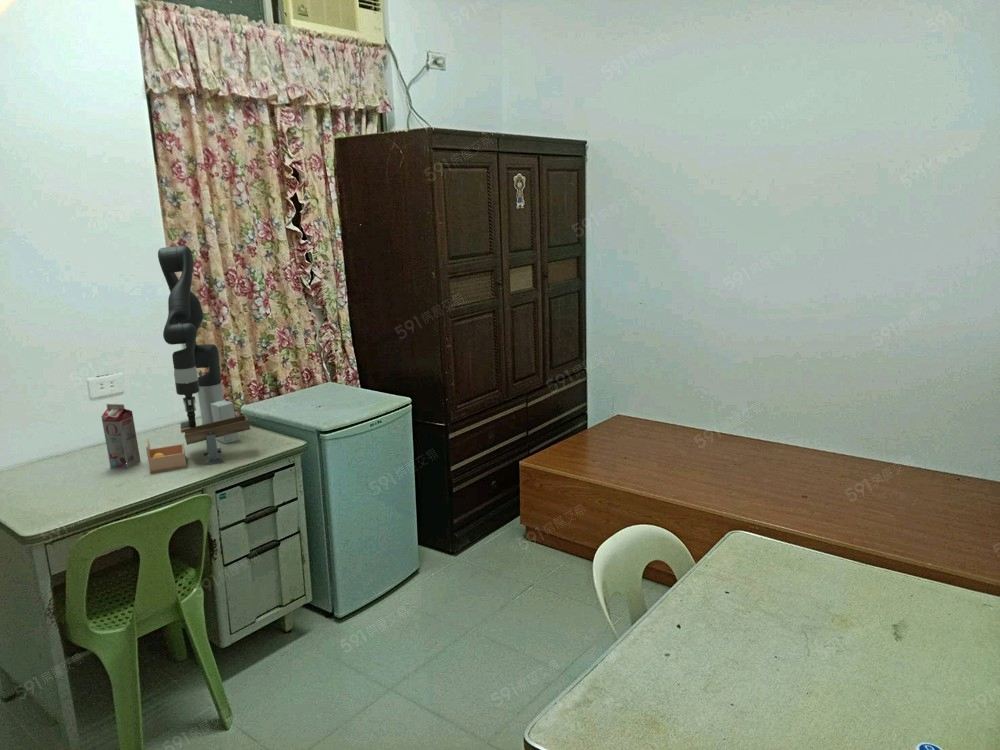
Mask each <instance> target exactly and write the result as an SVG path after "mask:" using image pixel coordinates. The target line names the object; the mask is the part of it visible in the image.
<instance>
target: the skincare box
mask: <svg viewBox="0 0 1000 750" xmlns="http://www.w3.org/2000/svg"><path fill="white" fill-rule="evenodd" d="M210 405H211V410H212V416H213V421H214V422H217V421H221V420H225V419H229V418H234V417H236V413H235V407H234V402H230V401H228V400H225V399H224V400H222V401H218V402H214V403H211V404H210ZM216 441H219V442H221V443H223V444H229V443H232V442H233V443H234V442H238V441H240V436H239V432H237V433H233V434H229V435H225V436H221V437H217V438H216Z"/></svg>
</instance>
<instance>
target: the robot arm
mask: <svg viewBox="0 0 1000 750" xmlns="http://www.w3.org/2000/svg"><path fill="white" fill-rule="evenodd" d="M157 257H158V262H159V266H160V268H161V271H162V273H163V277H164V278H165V281H166V283H167V287H168V290H169V295H168V301H167V305H168V306H167V307H168V313H167V319H166V321H165V326H164V328H163V331H162V333H163V334H162V336H163V339H164V342H166V344H168V345H171V346H172V345H185V347H184V348H183V349H179V350H176V351H174V352H173V353H172V355H171V356H172V358H171V359H172V362H173V363H172V365H173V377H174V382H175V392H176V394H177V395H179V396H184V397H182V402H183V405H184V410H185V412H186V413H187V414H186V416H187V418H188V421H189V427H196V426H197V422H196V411H197V409H196V403H197V402H196V396H193V395H194V394H197V396H198V403H199V408H200V409H199V410H200V416H201V422H202V423H201V425H204V424H208V423H213V422H214V421H213V416H212V410H211V405H210V404H211V403H214V402H218V401H222V400H225V399H224V393H223V385H222V384H223V383H222V378H221V377H222V376H221V375H222V373H221V366H220V364H221V363H220V352H219V348H218V347H217V345H216V344H213V343H212V344H211V343H210V344H197V341H196V340H197V335H198V331H199V329H200V327H201V324H202V322H203V319H204V312H203V308H202V306H201V305H202V304H201V301H200V299H199V298H198V296H197V295H195V294H194V293H193V291H192V290H191V288H192V280H193V272H194V257H193V253H192V250H191V249H190V247H189V246H187V245H177V246H175V245H174V246H166V247H161V248H159V249H158V251H157ZM180 272H181V275H180V277H179V278H178V275H177V274H176V273H180ZM206 368H208V369H209V370H208V372H207V373H205V374H203V375H200V376H199V375H198V370H197V369H206Z"/></svg>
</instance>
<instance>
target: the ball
mask: <svg viewBox="0 0 1000 750" xmlns="http://www.w3.org/2000/svg"><path fill="white" fill-rule="evenodd" d="M161 456H165V455H164V454H162V453H156V454H155V455H154V456H153V458H155V457H161Z"/></svg>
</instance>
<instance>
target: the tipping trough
mask: <svg viewBox="0 0 1000 750" xmlns="http://www.w3.org/2000/svg"><path fill="white" fill-rule="evenodd" d="M179 425H180V432H181V434H183V433H184V439H185V443H186V445H187V446H188V445H192V444H197V443H200V442H204V441H205V442H206V435H208V434H214V433H215V436H216V439H217V437H221V436H225V435H229V434H233V433H237V432H238V433H241V432H245V431H250V430H251V427H250V423H249V418H248V416H247V414H241V415H238V416H235V417H234V418H229V419H225V420H221V421H217V422H213V423H208V424H204V425H203V424H200V425H196V427H189V420H188V421H187V420H186V421H182V422H180V424H179Z"/></svg>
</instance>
